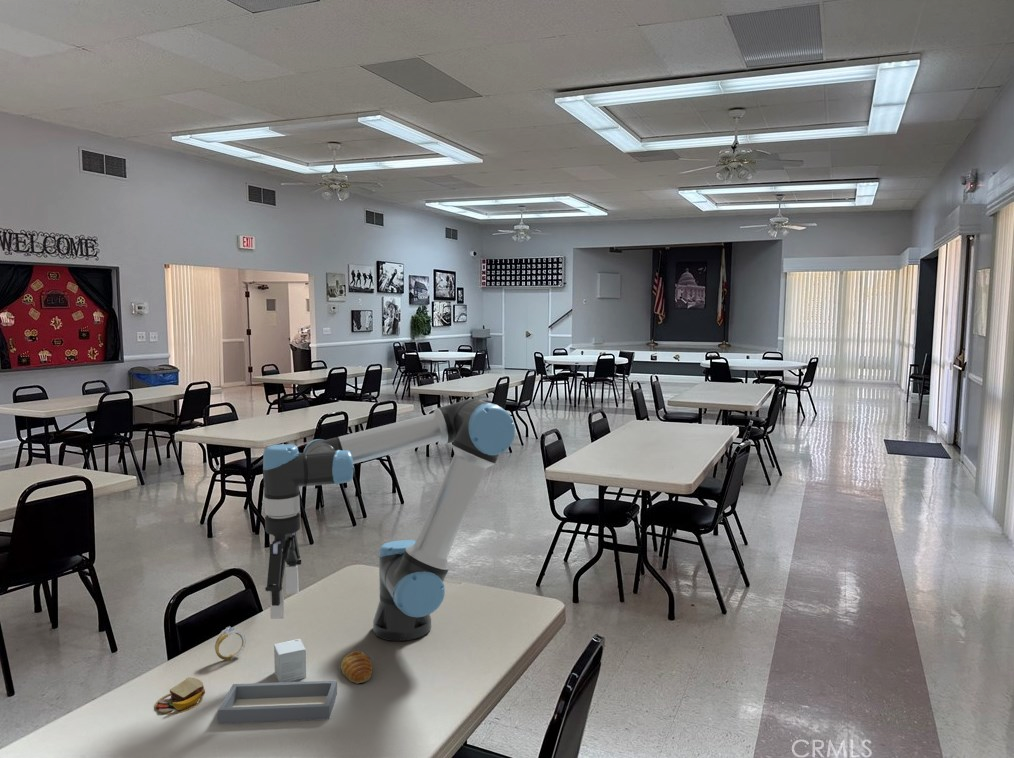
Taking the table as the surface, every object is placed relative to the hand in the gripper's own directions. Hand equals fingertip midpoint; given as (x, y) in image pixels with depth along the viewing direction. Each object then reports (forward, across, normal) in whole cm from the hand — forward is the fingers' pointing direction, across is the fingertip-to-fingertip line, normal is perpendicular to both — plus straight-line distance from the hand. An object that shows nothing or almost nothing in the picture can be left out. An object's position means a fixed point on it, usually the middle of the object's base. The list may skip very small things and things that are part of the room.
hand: (285, 605), depth 159 cm
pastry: (+18, +4, +15) cm, 23 cm away
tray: (+17, +14, +2) cm, 22 cm away
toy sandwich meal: (+17, +10, -20) cm, 28 cm away
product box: (+17, 0, +1) cm, 17 cm away
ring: (+17, -8, -15) cm, 24 cm away
